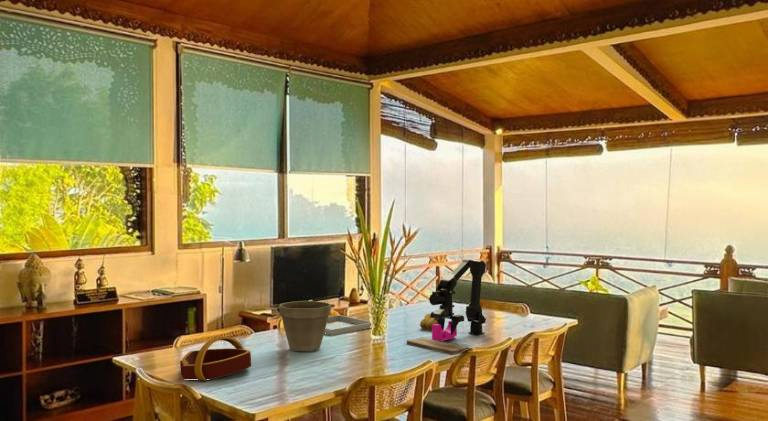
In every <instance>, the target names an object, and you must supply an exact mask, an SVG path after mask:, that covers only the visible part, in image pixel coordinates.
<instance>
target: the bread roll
mask: <svg viewBox="0 0 768 421" xmlns="http://www.w3.org/2000/svg"><path fill="white" fill-rule="evenodd" d="M430 314H431V313H426V314H425V316H424V318H423V319H421V320H420V321H419V326H420V328H421V329H422V330H427V331H432V324H438V322H437V321H436V320H434V319H435V318H430Z"/></svg>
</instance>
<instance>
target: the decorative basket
mask: <svg viewBox="0 0 768 421" xmlns="http://www.w3.org/2000/svg"><path fill="white" fill-rule="evenodd" d="M218 341H225V342H228V343H229V344H230V345H232V346H233V347H234V348H230V347H229V348H210V347H211V346H212V345H213V344H214V343H216V342H218ZM251 354H252V352H251V350H250V349H249V350H248V349H245V348H244V346H243V345H242V343H241V342H240V341H239V340H238V339H236V338H235V337H232V336H227V335H223V336H219V337H215V338H211V339H209V340H208V341H207V342H205V343H204V344H203V345H202V346H201V348H200V349H198V350H190V351H187V353H186V354H184V356H183V357H182V359H181V360H180V361H179V362H180V376H181V375H182V376H181V377H183V378H182V379H198V380H199V381H200V380H207V379H211V380H212V379H217V378H221V377H226V376H229V375H232V374H233V375H234V374H235V373H239V372H241V371H244V370H247V369H249V368H251V367H252V355H251Z"/></svg>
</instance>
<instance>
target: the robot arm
mask: <svg viewBox="0 0 768 421" xmlns="http://www.w3.org/2000/svg"><path fill="white" fill-rule="evenodd" d="M486 269H487V264H486V262H485V261H484V260H479V259H468V258H467V259H466V258H465V259H462V261H461V262H460V263H459V265H457V267H456V268H455V269H454V270H453V271H452V272H451V273H450V274H448V275H445V276H444V277H442V278H441V279H440V280H439V283H438V285H437V287H436V289H435V291H432V292H431V294H430V295H429V298H428V300H429V303H430V304H431V305H432V306H438V305H439V308H438V309H436V310H435V311H431V312H430V313H429V314H430V318H435V319H434V320H436V321H437V322H438V324H439V325H441V328H442V330H445V323H446V319H448V320H449V321H450V322H449V321H448V322H449V323H450V324H451V334H453V333H454V331H455V329H456V326H457V327H458V325H459V323H461V322H465V317H466V320H467V322H468V323H469V322H470V326H469V327H470V329H469V332H468V334H470V335H475V336H479V335H484V334H485V332H483V324H485V323H486V320H487V318H486V317H485V316H484V314H483V308H482V306H481V291H482V279H483V278H482V277H483V275H485V273H486ZM468 270H469V272H470V274H471V290H470V301H469V304H468V305H466V306H465V316H464V315H462V314H455V312H454V311H453V310H454V308H455V304H453V302H454V301H453V300H454V299H453V297H454V295H455V294H456V291H455V290H454V289H455V287H456V286H457V284H458V280H460V278H461V277H463V275H464V274H466V272H467V271H468Z"/></svg>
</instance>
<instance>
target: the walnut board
mask: <svg viewBox="0 0 768 421" xmlns="http://www.w3.org/2000/svg"><path fill="white" fill-rule="evenodd" d="M406 345H411V346H415V347H419V348H423V349H428V350H433V351H434V352H440V353H444V354H448V355H455V354H459V353H463V352H462V351H464V350H466V349H469V348H470V347H469V346H465V345H461V344H456V343H451V342H446V341H438V340H433V339H432V338H428V337H424V336H423V337H418V338H413V339H407V340H406ZM464 352H465V351H464Z"/></svg>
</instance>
